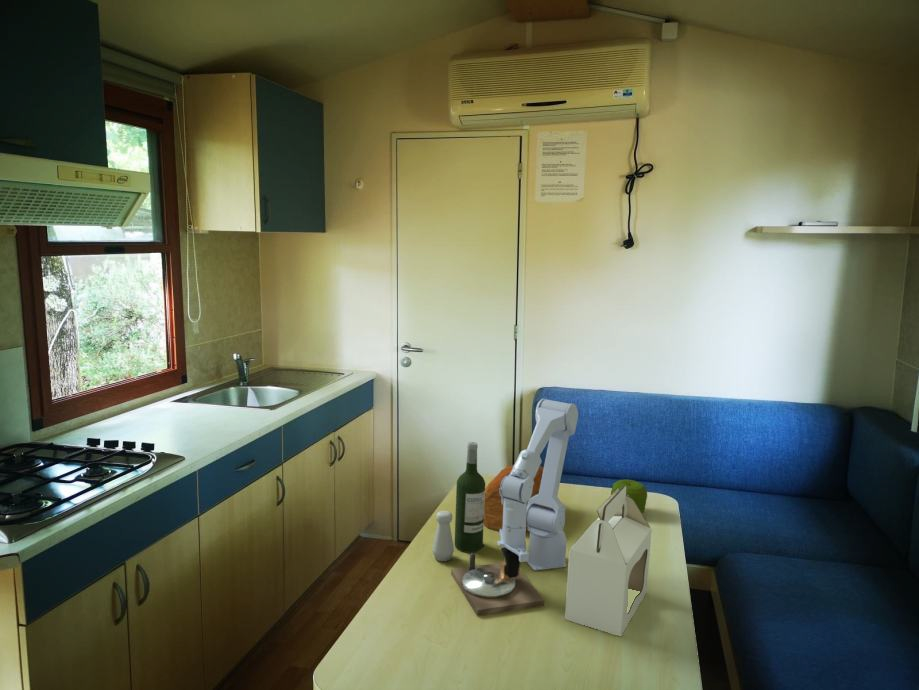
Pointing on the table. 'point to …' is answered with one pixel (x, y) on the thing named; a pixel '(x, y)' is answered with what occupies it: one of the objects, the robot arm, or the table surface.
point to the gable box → (609, 566)
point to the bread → (493, 498)
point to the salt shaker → (443, 537)
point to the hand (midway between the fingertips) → (511, 575)
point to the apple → (633, 492)
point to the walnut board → (516, 600)
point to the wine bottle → (470, 505)
